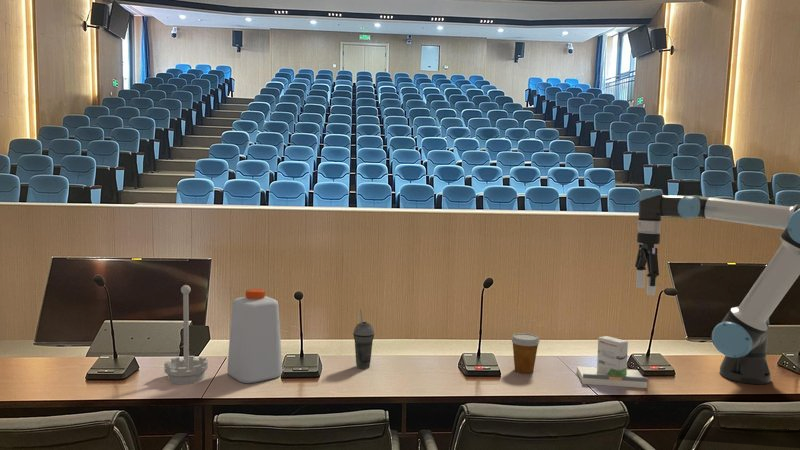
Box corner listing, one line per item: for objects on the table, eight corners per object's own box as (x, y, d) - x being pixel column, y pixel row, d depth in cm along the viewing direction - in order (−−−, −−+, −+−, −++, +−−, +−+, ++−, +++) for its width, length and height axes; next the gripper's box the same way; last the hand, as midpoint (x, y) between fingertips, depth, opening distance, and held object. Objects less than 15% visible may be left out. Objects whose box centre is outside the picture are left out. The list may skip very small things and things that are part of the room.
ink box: (627, 376, 197) (629, 340, 196) (618, 378, 194) (620, 343, 193) (604, 368, 204) (606, 334, 203) (595, 371, 201) (597, 336, 200)
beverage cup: (373, 370, 202) (374, 312, 201) (351, 369, 202) (352, 311, 201) (374, 363, 210) (375, 307, 208) (353, 363, 210) (354, 306, 208)
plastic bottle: (222, 373, 196) (222, 289, 193) (264, 364, 206) (265, 284, 203) (244, 386, 184) (244, 297, 182) (287, 376, 194) (288, 291, 192)
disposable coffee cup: (542, 369, 208) (543, 335, 207) (532, 377, 200) (534, 341, 199) (516, 364, 213) (517, 331, 212) (505, 371, 205) (507, 337, 204)
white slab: (637, 375, 204) (637, 366, 204) (647, 388, 192) (647, 378, 192) (576, 372, 206) (577, 362, 206) (583, 384, 194) (583, 374, 194)
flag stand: (212, 381, 188) (212, 287, 186) (168, 388, 182) (167, 290, 179) (202, 369, 199) (202, 280, 197) (161, 375, 193) (160, 283, 190)
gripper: (628, 228, 226) (625, 284, 227) (648, 235, 201) (644, 297, 203) (649, 229, 225) (646, 285, 227) (671, 236, 200) (667, 298, 202)
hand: (645, 291), depth 215 cm, fingers open, 13 cm apart
